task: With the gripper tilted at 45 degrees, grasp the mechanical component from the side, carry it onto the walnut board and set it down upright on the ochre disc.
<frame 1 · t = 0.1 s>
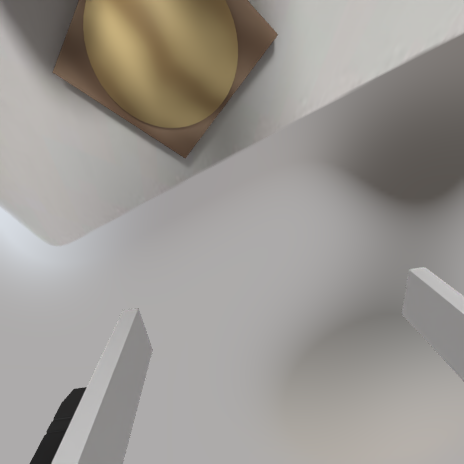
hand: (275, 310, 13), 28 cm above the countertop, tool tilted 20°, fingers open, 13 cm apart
marked board: (165, 50, 29), on the countertop
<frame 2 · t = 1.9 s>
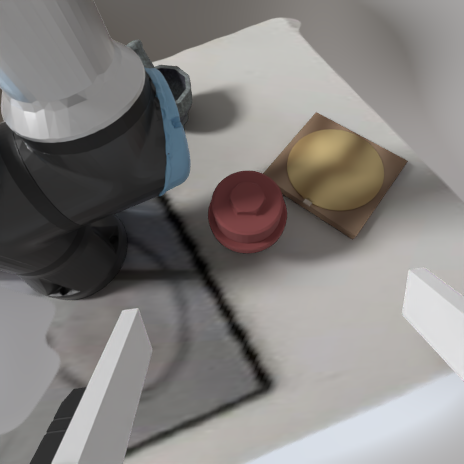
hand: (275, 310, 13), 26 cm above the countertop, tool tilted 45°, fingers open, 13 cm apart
mechanical component: (247, 234, 42), on the countertop
marked board: (331, 173, 45), on the countertop
mortar and pestle: (169, 116, 52), on the countertop
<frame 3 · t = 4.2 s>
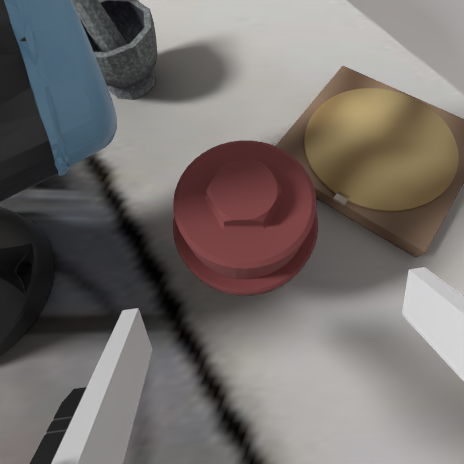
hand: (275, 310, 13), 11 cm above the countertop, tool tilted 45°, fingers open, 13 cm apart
mechanical component: (245, 253, 27), on the countertop
marked board: (371, 154, 30), on the countertop
mortar and pestle: (129, 80, 36), on the countertop
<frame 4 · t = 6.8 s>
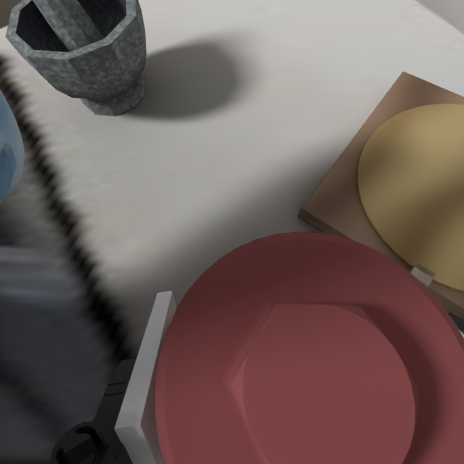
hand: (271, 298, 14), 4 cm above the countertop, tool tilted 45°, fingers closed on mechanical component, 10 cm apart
mechanical component: (274, 355, 18), on the countertop, touching gripper
marked board: (452, 199, 21), on the countertop
mortar and pestle: (111, 89, 27), on the countertop
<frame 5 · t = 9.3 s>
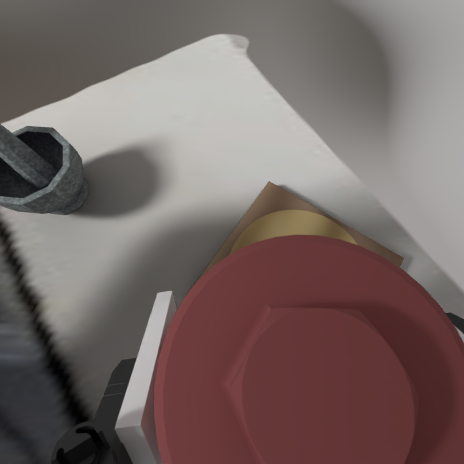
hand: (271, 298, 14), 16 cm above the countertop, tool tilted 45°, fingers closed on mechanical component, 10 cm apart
mechanical component: (273, 356, 18), point 11 cm above the countertop, touching gripper
marked board: (294, 277, 31), on the countertop
mortar and pestle: (62, 190, 36), on the countertop
when the fingers open (8 cm above the countertop, at t = 11.8 s): mechanical component drops 1 cm, resting on marked board.
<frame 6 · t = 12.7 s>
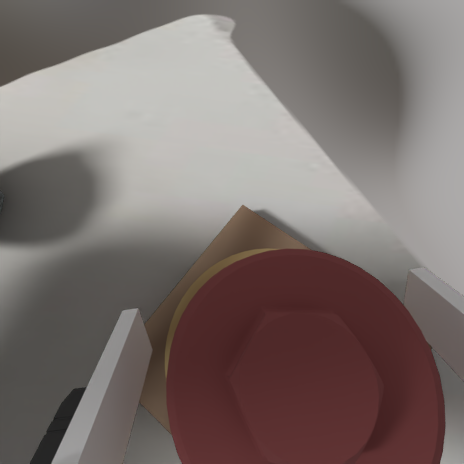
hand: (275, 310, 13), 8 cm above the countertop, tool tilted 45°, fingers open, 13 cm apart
mechanical component: (271, 354, 19), point 2 cm above the countertop, touching marked board
marked board: (270, 350, 21), on the countertop
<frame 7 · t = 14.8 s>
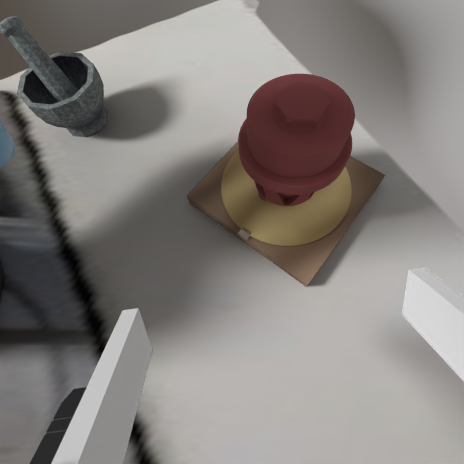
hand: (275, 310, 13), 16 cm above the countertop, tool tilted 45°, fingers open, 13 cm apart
mechanical component: (284, 186, 32), point 2 cm above the countertop, touching marked board
marked board: (283, 192, 34), on the countertop
mortar and pestle: (85, 118, 41), on the countertop
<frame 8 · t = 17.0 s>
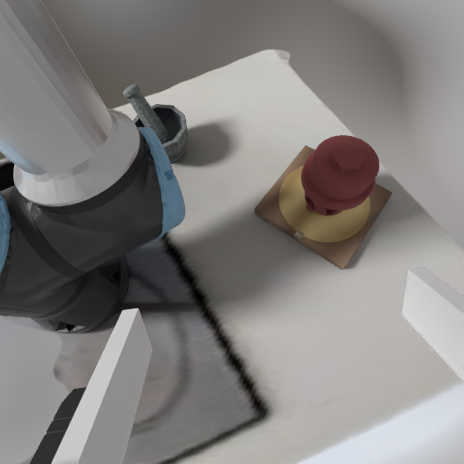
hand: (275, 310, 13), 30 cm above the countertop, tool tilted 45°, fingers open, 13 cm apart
mechanical component: (323, 201, 46), point 2 cm above the countertop, touching marked board
marked board: (321, 204, 48), on the countertop
mortar and pestle: (166, 149, 54), on the countertop
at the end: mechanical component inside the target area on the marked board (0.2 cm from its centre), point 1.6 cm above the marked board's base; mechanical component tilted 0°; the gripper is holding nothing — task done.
